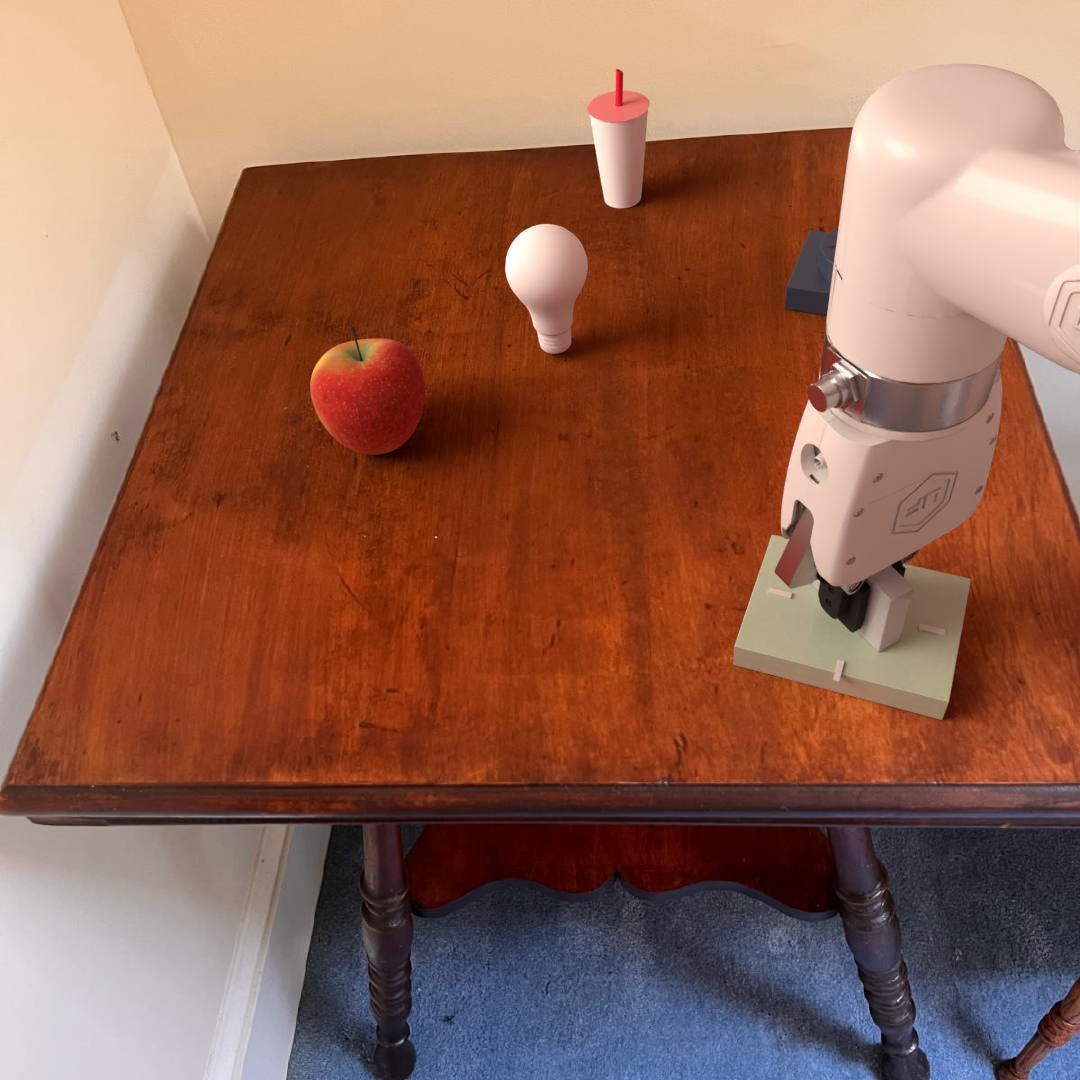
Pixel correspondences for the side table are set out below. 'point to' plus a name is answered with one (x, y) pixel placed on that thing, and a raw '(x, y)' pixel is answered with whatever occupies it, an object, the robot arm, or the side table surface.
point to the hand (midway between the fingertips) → (855, 603)
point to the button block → (813, 274)
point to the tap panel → (856, 640)
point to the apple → (369, 394)
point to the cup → (620, 143)
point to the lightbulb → (548, 280)
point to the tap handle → (884, 607)
